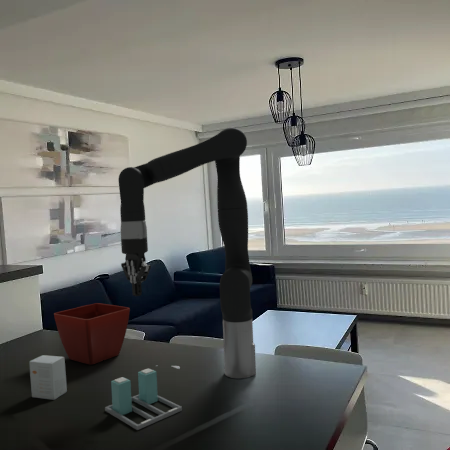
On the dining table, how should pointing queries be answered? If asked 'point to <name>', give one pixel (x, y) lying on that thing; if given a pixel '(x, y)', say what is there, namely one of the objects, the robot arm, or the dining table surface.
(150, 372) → the tab
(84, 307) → the plant pot
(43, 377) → the small box
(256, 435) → the dining table surface
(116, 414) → the switch board
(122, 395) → the tab
